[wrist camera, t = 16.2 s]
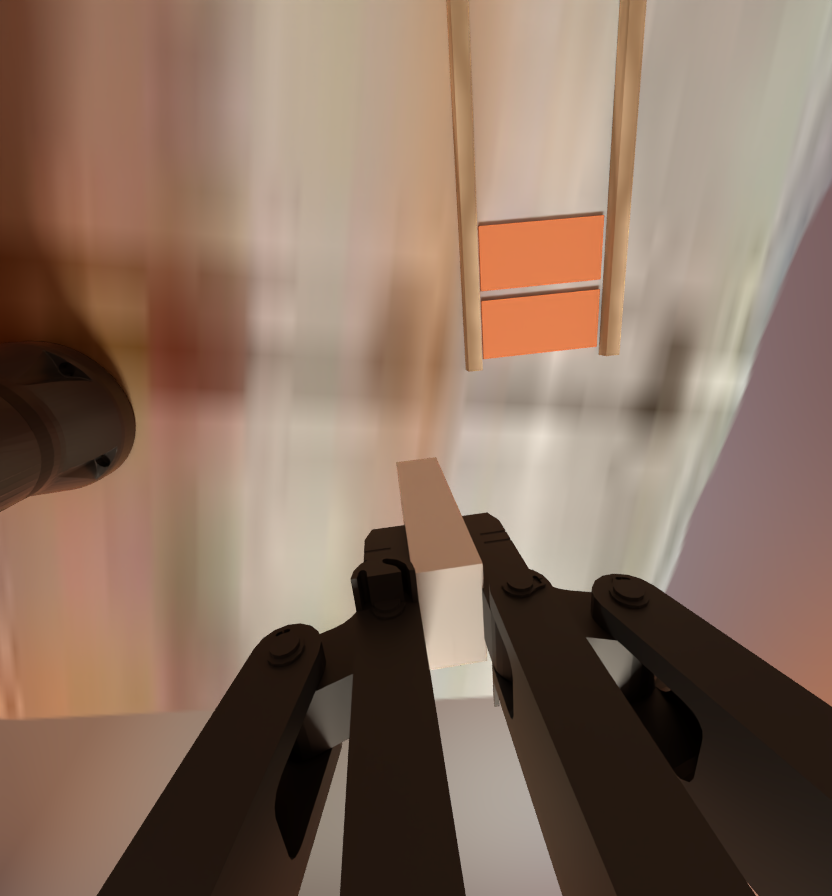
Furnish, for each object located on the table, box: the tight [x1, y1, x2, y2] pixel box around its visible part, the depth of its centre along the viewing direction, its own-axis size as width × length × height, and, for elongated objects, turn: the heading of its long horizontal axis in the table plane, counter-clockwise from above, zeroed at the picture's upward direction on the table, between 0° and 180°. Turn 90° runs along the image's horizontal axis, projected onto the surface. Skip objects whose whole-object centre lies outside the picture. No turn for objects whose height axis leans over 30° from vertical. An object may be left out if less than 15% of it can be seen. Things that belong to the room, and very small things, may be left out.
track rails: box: [446, 0, 647, 371], centre depth 36 cm, size 17×38×2 cm, turn 5°
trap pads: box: [478, 215, 604, 359], centre depth 41 cm, size 13×13×1 cm
